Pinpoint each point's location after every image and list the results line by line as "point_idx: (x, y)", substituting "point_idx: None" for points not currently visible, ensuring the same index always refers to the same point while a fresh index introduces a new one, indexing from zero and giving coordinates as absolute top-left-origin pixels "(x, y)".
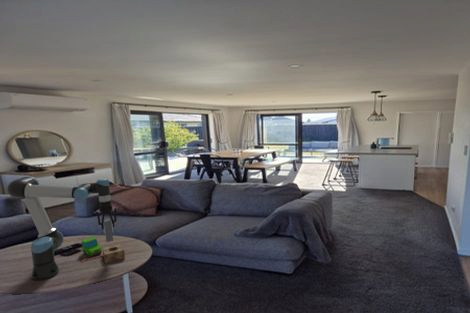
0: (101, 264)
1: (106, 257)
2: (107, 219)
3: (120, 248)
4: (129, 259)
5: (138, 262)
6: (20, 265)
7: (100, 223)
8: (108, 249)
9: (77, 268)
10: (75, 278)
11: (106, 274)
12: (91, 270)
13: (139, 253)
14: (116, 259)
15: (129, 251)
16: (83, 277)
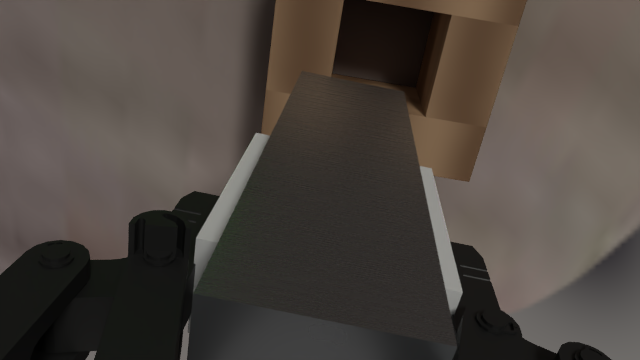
0: (238, 121)
1: None
2: (336, 336)
3: (460, 107)
4: (471, 201)
5: None
6: None
7: (87, 340)
8: (337, 26)
9: (35, 45)
10: (33, 217)
11: None
12: (148, 174)
13: (609, 146)
14: None
15: (571, 15)
16: (88, 241)
